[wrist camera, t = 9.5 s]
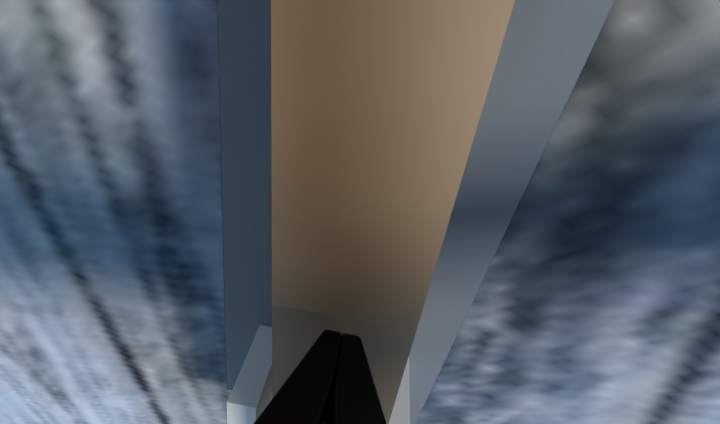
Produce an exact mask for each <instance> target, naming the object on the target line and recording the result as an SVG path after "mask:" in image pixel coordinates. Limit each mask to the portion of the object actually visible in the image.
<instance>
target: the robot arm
mask: <svg viewBox="0 0 720 424" xmlns="http://www.w3.org/2000/svg"><path fill="white" fill-rule="evenodd" d="M324 421H325V422H324ZM254 424H387V423H386V420H385V417H384V413H383V410H382V407H381V403H380V400H379V397H378V393H377V390H376V387H375V383H374V380H373V377H372V373H371V370H370V367H369V363H368V360H367V357H366V353H365V350H364V346H363V343H362V340H361V338H360V337H359V336H358V335H353V334H348V333H344V334H343V335H342V334H341V333H340V332H338V331H333V330H329V329H326V330H324V331H323V332H322V333H321V335H320V336H319V337H318V339H317V340H316V341H315V343H314V344H313V345H312V347H311V348H310V349H309V350H308V352H307V353H306V354H305V356H304V357H303V358H302V360H301V361H300V362H299V364H298V365H297V366H296V368H295V369H294V370H293V372H292V373H291V374H290V376H289V377H288V378H287V380H286V381H285V382H284V384H283V385H282V386H281V388H280V389H279V390H278V392H277V393H276V394H275V396H274V397H273V398H272V400H271V401H270V402H269V404H268V405H267V406H266V408H265V409H264V410H263V412H262V413H261V414H260V416H259V417H258V418H257V420H256V421H255V422H254Z"/></svg>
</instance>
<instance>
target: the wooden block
mask: <svg viewBox="0 0 720 424" xmlns="http://www.w3.org/2000/svg"><path fill="white" fill-rule="evenodd" d="M514 2H515V0H271V135H272V398H273V397H274V396H275V394H276V393H277V392H278V390H279V389H280V388H281V386H282V385H283V384H284V382H285V381H286V380H287V378H288V377H289V376H290V374H291V373H292V372H293V370H294V369H295V368H296V366H297V365H298V364H299V362H300V361H301V360H302V358H303V357H304V356H305V354H306V353H307V352H308V350H309V349H310V348H311V347H312V345H313V344H314V343H315V341H316V340H317V339H318V337H319V336H320V335H321V333H322V332H323V331H324V330H326V329H329V330H333V331H338V332H340V333H341V334H342V335H343V334H344V333H348V334H353V335H358V336H359V337H360V338H361V340H362V343H363V346H364V350H365V353H366V357H367V360H368V363H369V367H370V370H371V373H372V377H373V380H374V383H375V387H376V390H377V393H378V397H379V400H380V403H381V407H382V410H383V413H384V417H385V420H386V423H387V424H389V421H390V417H391V414H392V411H393V407H394V404H395V401H396V397H397V394H398V390H399V387H400V384H401V380H402V377H403V374H404V370H405V367H406V364H407V360H408V357H409V354H410V350H411V347H412V344H413V340H414V337H415V334H416V330H417V327H418V324H419V320H420V317H421V314H422V310H423V307H424V303H425V300H426V297H427V293H428V290H429V287H430V283H431V280H432V277H433V273H434V270H435V267H436V263H437V260H438V257H439V253H440V250H441V247H442V243H443V240H444V237H445V233H446V230H447V226H448V223H449V220H450V216H451V213H452V210H453V206H454V203H455V200H456V196H457V193H458V190H459V186H460V183H461V180H462V176H463V173H464V170H465V166H466V163H467V160H468V156H469V153H470V149H471V146H472V143H473V139H474V136H475V133H476V129H477V126H478V123H479V119H480V116H481V113H482V109H483V106H484V103H485V99H486V96H487V93H488V89H489V86H490V83H491V79H492V76H493V73H494V69H495V66H496V62H497V59H498V56H499V52H500V49H501V46H502V42H503V39H504V36H505V32H506V29H507V26H508V22H509V19H510V16H511V12H512V9H513V6H514ZM324 422H325V421H324Z"/></svg>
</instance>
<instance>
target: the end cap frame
mask: <svg viewBox="0 0 720 424" xmlns="http://www.w3.org/2000/svg"><path fill="white" fill-rule="evenodd" d="M614 1H615V0H515V2H514V6H513V9H512V12H511V16H510V19H509V22H508V26H507V29H506V32H505V36H504V39H503V42H502V46H501V49H500V52H499V56H498V59H497V62H496V66H495V69H494V73H493V76H492V79H491V83H490V86H489V89H488V93H487V96H486V99H485V103H484V106H483V109H482V113H481V116H480V119H479V123H478V126H477V129H476V133H475V136H474V139H473V143H472V146H471V149H470V153H469V156H468V160H467V163H466V166H465V170H464V173H463V176H462V180H461V183H460V186H459V190H458V193H457V196H456V200H455V203H454V206H453V210H452V213H451V216H450V220H449V223H448V226H447V230H446V233H445V237H444V240H443V243H442V247H441V250H440V253H439V257H438V260H437V263H436V267H435V270H434V273H433V277H432V280H431V283H430V287H429V290H428V293H427V297H426V300H425V303H424V307H423V310H422V314H421V317H420V320H419V324H418V327H417V330H416V334H415V337H414V340H413V344H412V347H411V350H410V354H409V357H408V360H407V364H406V367H405V370H404V374H403V377H402V380H401V384H400V387H399V390H398V394H397V397H396V401H395V404H394V407H393V411H392V414H391V417H390V421H389V424H415V423H416V421H417V418H418V416H419V414H420V412H421V410H422V408H423V406H424V404H425V401H426V399H427V397H428V395H429V393H430V391H431V389H432V387H433V385H434V382H435V380H436V378H437V376H438V374H439V372H440V370H441V368H442V365H443V363H444V361H445V359H446V357H447V355H448V353H449V351H450V348H451V346H452V344H453V342H454V340H455V338H456V336H457V334H458V331H459V329H460V327H461V325H462V323H463V321H464V319H465V317H466V315H467V312H468V310H469V308H470V306H471V304H472V302H473V300H474V298H475V295H476V293H477V291H478V289H479V287H480V285H481V283H482V281H483V278H484V276H485V274H486V272H487V270H488V268H489V266H490V264H491V262H492V259H493V257H494V255H495V253H496V251H497V249H498V247H499V245H500V242H501V240H502V238H503V236H504V234H505V232H506V230H507V228H508V225H509V223H510V221H511V219H512V217H513V215H514V213H515V211H516V208H517V206H518V204H519V202H520V200H521V198H522V196H523V194H524V192H525V189H526V187H527V185H528V183H529V181H530V179H531V177H532V175H533V172H534V170H535V168H536V166H537V164H538V162H539V160H540V158H541V155H542V153H543V151H544V149H545V147H546V145H547V143H548V141H549V138H550V136H551V134H552V132H553V130H554V128H555V126H556V124H557V122H558V119H559V117H560V115H561V113H562V111H563V109H564V107H565V105H566V102H567V100H568V98H569V96H570V94H571V92H572V90H573V88H574V85H575V83H576V81H577V79H578V77H579V75H580V73H581V71H582V68H583V66H584V64H585V62H586V60H587V58H588V56H589V54H590V52H591V49H592V47H593V45H594V43H595V41H596V39H597V37H598V35H599V32H600V30H601V28H602V26H603V24H604V22H605V20H606V18H607V15H608V13H609V11H610V9H611V7H612V5H613V3H614ZM217 8H218V49H219V91H220V132H221V174H222V216H223V257H224V299H225V341H226V382H227V389H230V390H232V391H231V394H230V396H229V398H228V401H227V424H254V422H255V421H256V420H257V418H258V417H259V416H260V414H261V413H262V412H263V410H264V409H265V408H266V406H267V405H268V404H269V402H270V401H271V400H272V135H271V0H217Z"/></svg>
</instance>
